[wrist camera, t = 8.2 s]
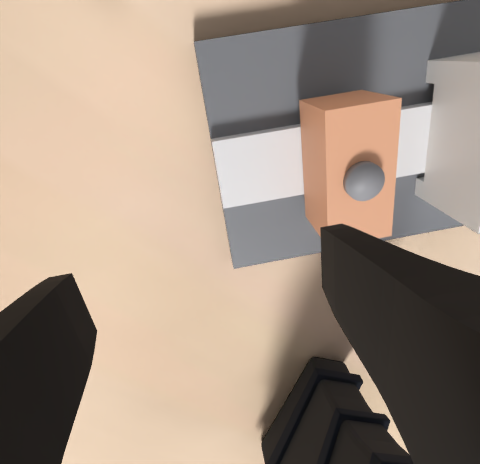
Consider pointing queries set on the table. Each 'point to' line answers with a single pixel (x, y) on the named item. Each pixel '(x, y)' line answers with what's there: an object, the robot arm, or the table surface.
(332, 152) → the block with grey knob
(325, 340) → the table surface
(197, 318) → the table surface
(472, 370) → the robot arm
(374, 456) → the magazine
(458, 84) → the block
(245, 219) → the din rail
